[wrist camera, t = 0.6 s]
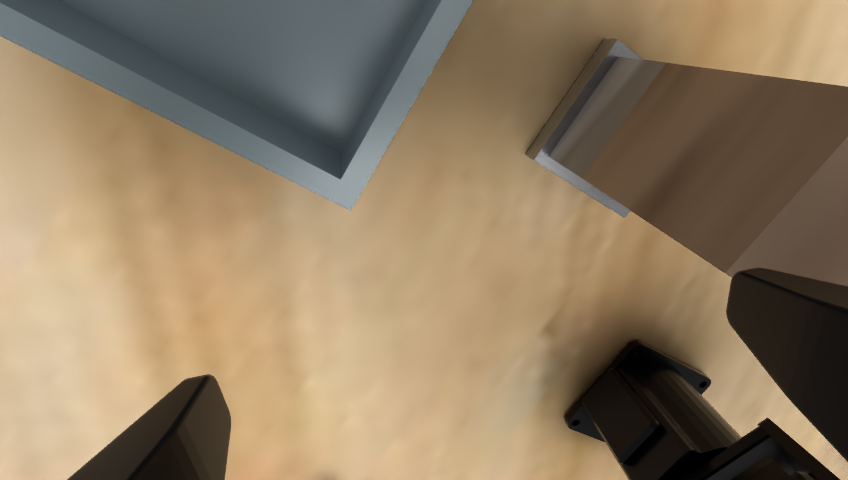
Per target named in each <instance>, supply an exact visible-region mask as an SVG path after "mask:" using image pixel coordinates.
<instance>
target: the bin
mask: <svg viewBox="0 0 848 480" xmlns="http://www.w3.org/2000/svg"><path fill="white" fill-rule="evenodd" d="M472 2H473V0H0V36H1V37H4V38H6V39H8V40H10V41H12V42H14V43H16V44H18V45H20V46H22V47H24V48H26V49H28V50H30V51H32V52H34V53H36V54H38V55H40V56H42V57H44V58H46V59H48V60H50V61H52V62H54V63H56V64H58V65H60V66H62V67H64V68H66V69H68V70H70V71H72V72H74V73H76V74H78V75H80V76H82V77H84V78H86V79H88V80H90V81H92V82H94V83H96V84H98V85H100V86H102V87H104V88H106V89H108V90H110V91H112V92H114V93H116V94H118V95H120V96H122V97H124V98H126V99H128V100H130V101H132V102H134V103H136V104H138V105H140V106H142V107H144V108H146V109H148V110H150V111H152V112H154V113H156V114H158V115H160V116H162V117H164V118H166V119H168V120H170V121H172V122H174V123H176V124H178V125H180V126H182V127H184V128H186V129H188V130H190V131H192V132H194V133H196V134H198V135H200V136H202V137H204V138H206V139H208V140H210V141H212V142H214V143H216V144H218V145H220V146H222V147H224V148H226V149H228V150H230V151H232V152H234V153H236V154H238V155H240V156H242V157H244V158H246V159H248V160H250V161H252V162H254V163H256V164H258V165H260V166H262V167H264V168H266V169H268V170H270V171H272V172H274V173H276V174H278V175H280V176H282V177H284V178H286V179H288V180H290V181H292V182H294V183H296V184H298V185H300V186H302V187H304V188H306V189H308V190H310V191H312V192H314V193H316V194H318V195H320V196H322V197H324V198H326V199H328V200H330V201H332V202H334V203H336V204H338V205H340V206H342V207H344V208H346V209H348V210H350V211H351V210H352V208H353V206H354V204H355V203H356V201H357V199H358V198H359V196H360V194H361V192H362V191H363V189H364V187H365V186H366V184H367V182H368V180H369V179H370V177H371V175H372V174H373V172H374V170H375V168H376V167H377V165H378V163H379V162H380V160H381V158H382V156H383V155H384V153H385V151H386V149H387V148H388V146H389V144H390V143H391V141H392V139H393V137H394V136H395V134H396V132H397V131H398V129H399V127H400V125H401V124H402V122H403V120H404V119H405V117H406V115H407V113H408V112H409V110H410V108H411V107H412V105H413V103H414V101H415V100H416V98H417V96H418V94H419V93H420V91H421V89H422V88H423V86H424V84H425V82H426V81H427V79H428V77H429V76H430V74H431V72H432V70H433V69H434V67H435V65H436V64H437V62H438V60H439V58H440V57H441V55H442V53H443V52H444V50H445V48H446V46H447V45H448V43H449V41H450V40H451V38H452V36H453V34H454V33H455V31H456V29H457V27H458V26H459V24H460V22H461V21H462V19H463V17H464V15H465V14H466V12H467V10H468V9H469V7H470V5H471V3H472Z"/></svg>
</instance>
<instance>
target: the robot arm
mask: <svg viewBox="0 0 848 480" xmlns="http://www.w3.org/2000/svg"><path fill="white" fill-rule="evenodd" d="M726 314H727V318H728V321H729V323H730V325H731V326H732V328H733V329H734V330H735V331H736V333H737V334H738V335H739V337H740V338H741V339H742V340H743V342H744V343H745V344H746V345H747V347H748V348H749V349H750V351H751V352H752V353H753V354H754V356H755V357H756V358H757V360H758V361H759V362H760V363H761V365H762V366H763V367H764V368H765V370H766V371H767V372H768V374H769V375H770V376H771V377H772V379H773V380H774V381H775V383H776V384H777V385H778V386H779V387H780V389H781V390H782V391H783V392H784V394H785V395H786V396H787V397H788V398H789V399H790V400H791V402H792V403H793V404H794V405H795V406H796V407H797V408H798V409H799V410H800V411H801V413H802V414H803V415H804V416H805V417H806V418H807V419H808V420H809V421H810V422H811V423H812V424H813V425H814V426H815V427H816V429H817V430H818V431H819V432H820V433H821V434H822V435H823V436H824V437H825V438H826V439H827V440H828V441H829V442H830V443H831V445H832V446H833V447H834V448H835V449H836V450H837V451H838V452H839V453H840V454H841V455H842V456H843V457H844V458H845V459H846V460H847V462H848V286H844V285H839V284H835V283H830V282H826V281H821V280H816V279H812V278H807V277H803V276H798V275H794V274H789V273H784V272H780V271H775V270H771V269H766V268H752V269H747V270H742V271H738V272H737V273H735V274H734V276H733V277H732V280H731V285H730V291H729V297H728V303H727V309H726ZM635 350H636V351H635ZM710 384H711V380H710V379H709V378H708V377H707V376H706V375H705V374H704V373H702V372H700V371H698V370H696V369H694V368H692V367H690V366H688V365H686V364H684V363H682V362H680V361H678V360H676V359H674V358H672V357H671V356H669V355H667V354H665V353H663V352H661V351H659V350H657V349H655V348H653V347H651V346H649V345H647V344H645V343H643V342H641V341H639V340H635V341H632V342H630V343H629V344H628V345H627V346H626V347H625V348H624V350H623V351H622V352H621V353H620V354H619V355H618V357H617V358H616V359H615V360H614V361H613V362H612V363H611V365H610V366H609V367H608V368H607V369H606V370H605V371H604V373H603V374H602V375H601V376H600V377H599V378H598V379H597V381H596V382H595V383H594V384H593V385H592V386H591V387H590V389H589V390H588V391H587V392H586V393H585V394H584V395H583V397H582V398H581V399H580V400H579V401H578V402H577V403H576V405H575V406H574V407H573V408H572V409H571V410H570V411H569V413H568V414H567V415H566V417H565V422H566V424H567V426H568V427H569V428H570V429H572V430H575V431H578V432H580V433H583V434H585V435H588V436H590V437H593V438H595V439H598V440H601V441H603V442H606V444H607V445H608V447H609V449H610V450H611V452H612V453H613V455H614V457H615V458H616V460H617V461H618V463H619V465H620V466H621V468H622V469H623V471H624V473H625V474H626V476H627V478H628V479H629V480H840V479H839V478H838V477H836V476H835V475H834V474H833V473H832V472H831V471H829V470H828V469H827V468H826V467H825V466H824V465H822V464H821V463H820V462H819V461H818V460H817V459H815V458H814V457H813V456H812V455H811V454H810V453H808V452H807V451H806V450H805V449H804V448H803V447H801V446H800V445H799V444H798V443H797V442H796V441H794V440H793V439H792V438H791V437H790V436H789V435H787V434H786V433H785V432H784V431H783V430H782V429H780V428H779V427H778V426H777V425H776V424H775V423H773V422H772V421H771V420H770V419H769V418H766V419H765V420H763V421H762V422H760V423H759V424H758V426H759V427H757V428H756V429H754V430H753V431H751V432H750V433H748V434H747V435H745V436H744V437H741V436H740V435H739V434H738V433H737V432H736V431H735V430H734V429H733V428H732V427H731V426H730V425H729V424H728V423H727V422H726V421H725V420H724V418H723V417H722V416H721V415H720V414H719V413H718V412H717V411H716V410H715V409H714V408H713V407H712V406H711V405H710V404H709V403H708V402H707V401H706V400H705V399H704V398H703V397H702V395H701V394H702V393H703V392H704V391H705V390H706V389H707V388H708V387H709V386H710ZM230 431H231V416H230V412H229V409H228V407H227V404H226V402H225V399H224V397H223V394H222V392H221V389H220V387H219V385H218V382H217V380H216V379H215V377H214V376H212V375H209V374H208V375H202V376H197V377H192V378H188V379H185V380H184V381H182V382H181V383H180V384H179V385H178V386H176V387H175V388H174V389H173V390H172V391H171V392H169V393H168V394H167V395H166V396H165V397H164V398H162V399H161V400H160V401H159V402H158V403H156V404H155V405H154V406H153V407H152V408H151V409H149V410H148V411H147V412H146V413H145V414H144V415H142V416H141V417H140V418H139V419H138V420H137V421H135V422H134V423H133V424H132V425H131V426H129V427H128V428H127V429H126V430H125V431H124V432H122V433H121V434H120V435H119V436H118V437H117V438H115V439H114V440H113V441H112V442H111V443H110V444H108V445H107V446H106V447H105V448H104V449H103V450H101V451H100V452H99V453H98V454H97V455H95V456H94V457H93V458H92V459H91V460H90V461H88V462H87V463H86V464H85V465H84V466H83V467H81V468H80V469H79V470H78V471H77V472H76V473H74V474H73V475H72V476H71V477H70V478H69V479H67V480H225V472H226V464H227V456H228V447H229V439H230Z"/></svg>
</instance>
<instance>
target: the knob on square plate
mask: <svg viewBox="0 0 848 480" xmlns="http://www.w3.org/2000/svg"><path fill="white" fill-rule="evenodd" d="M618 57H625V58H633V59H640V60H643V59H641V58H640V57H639V56H638V55H637V54H635V53H634V52H633V51H632V50H630V49H629V48H628V47H627V46H626V45H624V44H623V43H622V42H621V41H619V40H618V39H608V38H604V40H603V41H602V43H601V44H600V46H599V47H598V49H597V50H596V52H595V53H594V55H593V56H592V58H591V59H590V60H589V62H588V63H587V65H586V66H585V68H584V69H583V71H582V72H581V74H580V75H579V77H578V78H577V80H576V81H575V82H574V84H573V85H572V87H571V88H570V90H569V91H568V93H567V94H566V96H565V97H564V99H563V100H562V101H561V103H560V104H559V106H558V107H557V109H556V110H555V112H554V113H553V115H552V116H551V118H550V119H549V121H548V122H547V123H546V125H545V126H544V128H543V129H542V131H541V132H540V134H539V135H538V137H537V138H536V140H535V141H534V143H533V144H532V145H531V147H530V148H529V150H528V151H527V153H526V155H527V156H529V157H530V158H531V159H533V160H534V161H536V162H537V163H539V164H540V165H542V166H544V167H545V168H547V169H548V170H550V171H551V172H553V173H555V174H556V175H558V176H559V177H561V178H562V179H564V180H566V181H567V182H569V183H570V184H572V185H573V186H575V187H577V188H578V189H580V190H581V191H583V192H584V193H586V194H588V195H589V196H591V197H592V198H594V199H595V200H597V201H599V202H600V203H602V204H603V205H605V206H607V207H608V208H610V209H611V210H613V211H614V212H616V213H618V214H619V215H621V216H622V217H624V218H625V217H626V216H627V214H628V213H629V212H630V211H631V210H629V209H628V208H626V207H624V206H623V205H621V204H620V203H618V202H617V201H615V200H614V199H612V198H611V197H609V196H608V195H606V194H605V193H603V192H602V191H600V190H599V189H597V188H596V187H594V186H593V185H591V184H590V183H588V182H587V181H585V180H584V179H582V178H581V177H579V176H578V175H576V174H575V173H573V172H572V171H570V170H568V169H567V168H565V167H564V166H562V165H561V164H559V163H558V162H556V161H555V160H553V159H552V158H550V157H549V155H550V154H551V152H552V151H553V149H554V148H555V147H556V145H557V144H558V142H559V141H560V139H561V138H562V137H563V135H564V134H565V132H566V131H567V129H568V128H569V127H570V125H571V124H572V122H573V121H574V119H575V118H576V117H577V115H578V114H579V112H580V111H581V109H582V108H583V107H584V105H585V104H586V102H587V101H588V99H589V98H590V97H591V95H592V94H593V92H594V91H595V89H596V88H597V87H598V85H599V84H600V82H601V81H602V79H603V78H604V77H605V75H606V74H607V72H608V71H609V69H610V68H611V67H612V65H613V64H614V62H615V61H616V59H617V58H618Z"/></svg>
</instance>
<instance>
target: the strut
mask: <svg viewBox="0 0 848 480" xmlns="http://www.w3.org/2000/svg"><path fill="white" fill-rule="evenodd" d="M549 157H550V158H552V159H553V160H555V161H556V162H558V163H559V164H561V165H562V166H564V167H565V168H567V169H568V170H570V171H572V172H573V173H575V174H576V175H578V176H579V177H581V178H582V179H584V180H585V181H587V182H588V183H590V184H591V185H593V186H594V187H596V188H597V189H599V190H600V191H602V192H603V193H605V194H606V195H608V196H609V197H611V198H612V199H614V200H615V201H617V202H618V203H620V204H621V205H623V206H624V207H626V208H628V209H629V210H631V211H632V212H634V213H635V214H637V215H638V216H640V217H641V218H643V219H644V220H646V221H647V222H649V223H650V224H652V225H653V226H655V227H656V228H658V229H659V230H661V231H662V232H664V233H665V234H667V235H668V236H670V237H671V238H673V239H674V240H676V241H677V242H679V243H680V244H682V245H684V246H685V247H687V248H688V249H690V250H691V251H693V252H694V253H696V254H697V255H699V256H700V257H702V258H703V259H705V260H706V261H708V262H709V263H711V264H712V265H714V266H715V267H717V268H718V269H720V270H721V271H723V272H724V273H726V274H727V275H729V276H731V277H733V276H734V274H735V273H737V272H738V271H742V270H747V269H752V268H766V269H771V270H775V271H780V272H784V273H789V274H794V275H798V276H803V277H807V278H812V279H816V280H821V281H826V282H830V283H835V284H839V285H844V286H848V87H845V86H837V85H830V84H822V83H815V82H807V81H800V80H792V79H784V78H777V77H769V76H762V75H754V74H747V73H739V72H731V71H724V70H716V69H709V68H701V67H693V66H686V65H678V64H671V63H663V62H656V61H648V60H640V59H633V58H625V57H618V58H617V59H616V61H615V62H614V64H613V65H612V67H611V68H610V69H609V71H608V72H607V74H606V75H605V77H604V78H603V79H602V81H601V82H600V84H599V85H598V87H597V88H596V89H595V91H594V92H593V94H592V95H591V97H590V98H589V99H588V101H587V102H586V104H585V105H584V107H583V108H582V109H581V111H580V112H579V114H578V115H577V117H576V118H575V119H574V121H573V122H572V124H571V125H570V127H569V128H568V129H567V131H566V132H565V134H564V135H563V137H562V138H561V139H560V141H559V142H558V144H557V145H556V147H555V148H554V149H553V151H552V152H551V154H550V155H549Z"/></svg>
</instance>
